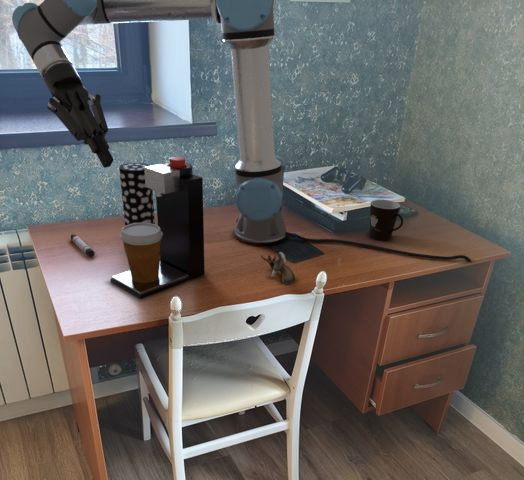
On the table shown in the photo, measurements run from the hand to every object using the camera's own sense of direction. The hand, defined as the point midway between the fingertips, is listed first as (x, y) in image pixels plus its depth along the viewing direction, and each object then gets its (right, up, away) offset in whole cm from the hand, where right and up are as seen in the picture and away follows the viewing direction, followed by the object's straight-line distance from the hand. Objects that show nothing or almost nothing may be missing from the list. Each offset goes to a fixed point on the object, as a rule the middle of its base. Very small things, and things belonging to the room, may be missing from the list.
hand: (108, 163), depth 121 cm
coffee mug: (+70, -9, +40) cm, 81 cm away
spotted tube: (0, -10, +32) cm, 34 cm away
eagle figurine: (+39, -24, +14) cm, 48 cm away
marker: (-15, -14, +25) cm, 32 cm away
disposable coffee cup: (+7, -25, +7) cm, 27 cm away
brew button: (+15, 0, +1) cm, 15 cm away
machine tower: (+14, -22, +15) cm, 30 cm away
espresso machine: (+8, -25, +9) cm, 28 cm away
